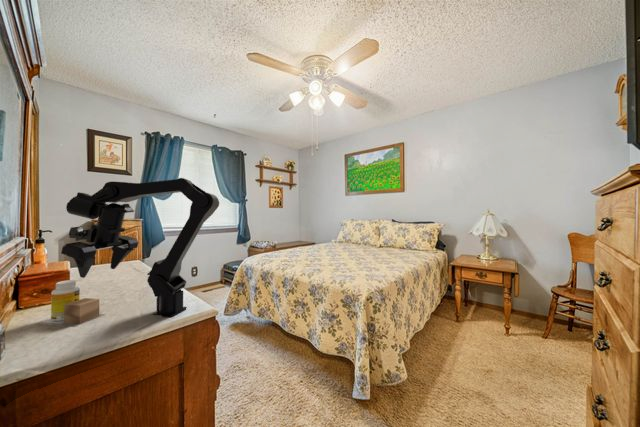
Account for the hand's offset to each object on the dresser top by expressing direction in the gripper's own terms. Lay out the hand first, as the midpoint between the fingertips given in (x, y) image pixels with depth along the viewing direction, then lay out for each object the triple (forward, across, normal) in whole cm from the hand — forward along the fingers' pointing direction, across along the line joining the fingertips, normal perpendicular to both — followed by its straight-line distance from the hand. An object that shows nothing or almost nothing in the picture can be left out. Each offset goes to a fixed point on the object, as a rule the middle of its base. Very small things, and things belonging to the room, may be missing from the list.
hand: (98, 272), depth 73 cm
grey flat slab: (+12, +5, +1) cm, 13 cm away
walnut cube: (+11, +6, +4) cm, 13 cm away
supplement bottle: (+13, +5, -2) cm, 14 cm away
